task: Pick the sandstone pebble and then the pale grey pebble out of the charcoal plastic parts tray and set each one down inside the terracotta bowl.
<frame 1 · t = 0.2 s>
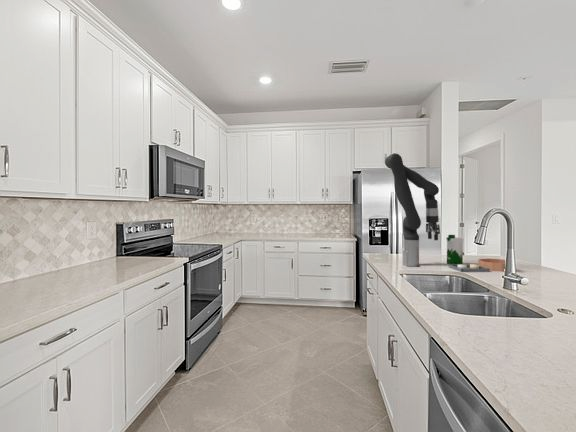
hand: (433, 239, 206), 17 cm above the worktop, tool pointing down, fingers open, 8 cm apart
milk carton: (454, 264, 209), on the worktop
tray: (468, 270, 189), on the worktop
grey pebble: (462, 269, 189), point 1 cm above the worktop, touching tray
sandstone pebble: (474, 269, 189), point 1 cm above the worktop, touching tray
bowl: (495, 269, 191), on the worktop
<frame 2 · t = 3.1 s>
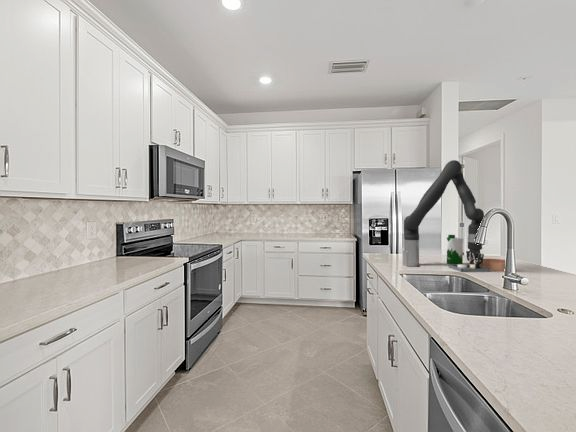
hand: (474, 269, 189), 1 cm above the worktop, tool pointing down, fingers closed on sandstone pebble, 5 cm apart
sandstone pebble: (474, 269, 189), point 1 cm above the worktop, touching gripper, tray
everything else where it was.
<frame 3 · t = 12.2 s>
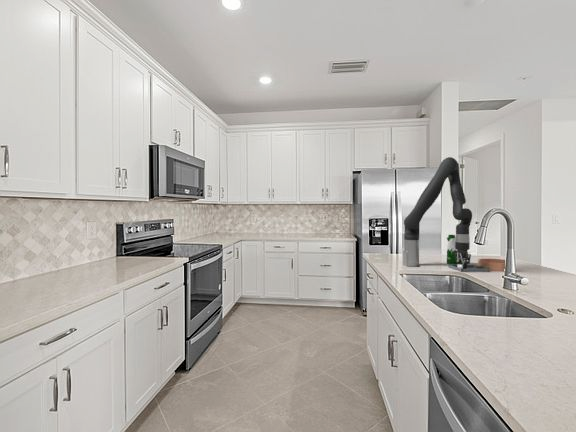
hand: (462, 269, 189), 1 cm above the worktop, tool pointing down, fingers closed on grey pebble, 5 cm apart
grey pebble: (462, 269, 189), point 1 cm above the worktop, touching gripper, tray
sandstone pebble: (489, 268, 191), point 1 cm above the worktop, touching bowl
everything else where it was.
when the fingers open (2 cm above the worktop, at t = 17.4 s): grey pebble drops 1 cm, resting on bowl.
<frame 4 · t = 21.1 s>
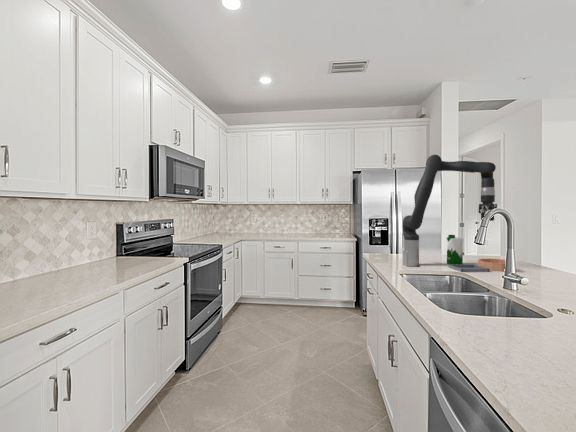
hand: (487, 220, 197), 30 cm above the worktop, tool pointing down, fingers open, 8 cm apart
grey pebble: (501, 268, 191), point 1 cm above the worktop, touching bowl
everything else where it was.
at the end: sandstone pebble inside the target area on the bowl (3.5 cm from its centre), point 0.8 cm above the bowl's base; grey pebble inside the target area on the bowl (3.5 cm from its centre), point 0.8 cm above the bowl's base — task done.
